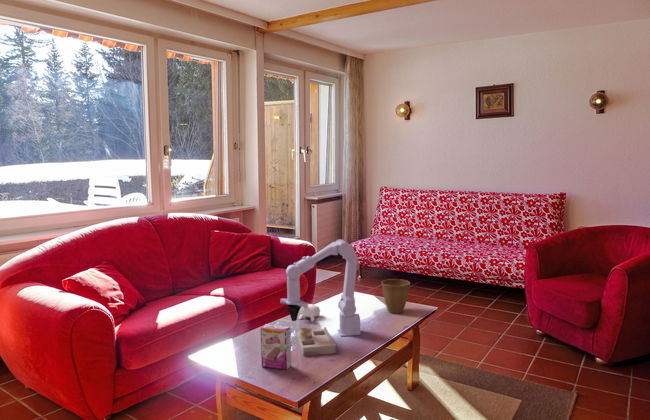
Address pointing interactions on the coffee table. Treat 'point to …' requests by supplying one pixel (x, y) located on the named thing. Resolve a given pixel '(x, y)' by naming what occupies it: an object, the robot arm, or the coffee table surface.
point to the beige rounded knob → (305, 333)
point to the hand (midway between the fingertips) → (294, 320)
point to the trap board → (317, 343)
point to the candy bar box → (276, 346)
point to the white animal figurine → (309, 311)
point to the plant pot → (395, 294)
